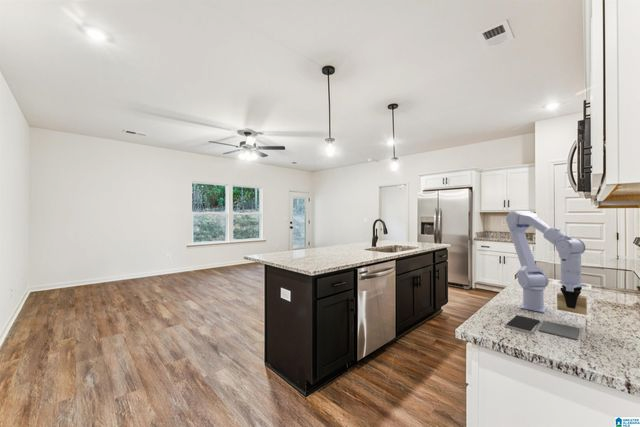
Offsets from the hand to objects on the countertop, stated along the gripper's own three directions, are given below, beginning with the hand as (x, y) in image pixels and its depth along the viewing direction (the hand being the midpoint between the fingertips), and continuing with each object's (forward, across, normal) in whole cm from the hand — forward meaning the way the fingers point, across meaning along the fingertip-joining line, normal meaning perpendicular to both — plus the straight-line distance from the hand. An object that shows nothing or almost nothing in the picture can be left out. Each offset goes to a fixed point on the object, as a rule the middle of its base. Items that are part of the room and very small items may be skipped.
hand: (571, 306), depth 101 cm
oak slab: (+2, 0, 0) cm, 2 cm away
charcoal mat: (+7, -10, +3) cm, 13 cm away
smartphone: (+8, -12, +13) cm, 19 cm away
